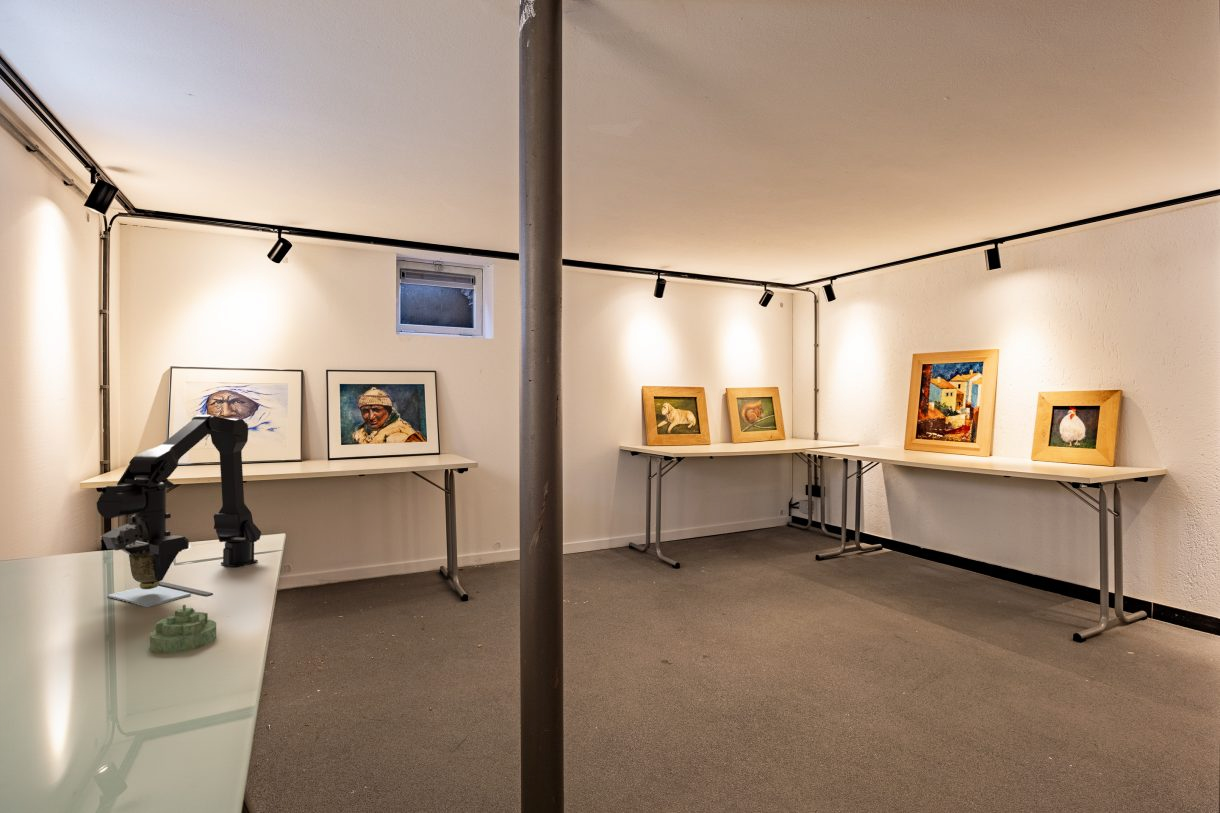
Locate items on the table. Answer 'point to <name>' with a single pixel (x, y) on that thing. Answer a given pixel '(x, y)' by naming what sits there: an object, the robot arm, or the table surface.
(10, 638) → the table surface
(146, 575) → the cup
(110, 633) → the table surface
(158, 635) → the decorative artifact
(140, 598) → the board
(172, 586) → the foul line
